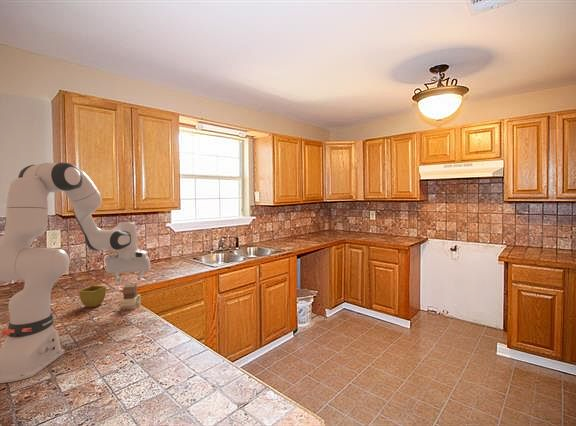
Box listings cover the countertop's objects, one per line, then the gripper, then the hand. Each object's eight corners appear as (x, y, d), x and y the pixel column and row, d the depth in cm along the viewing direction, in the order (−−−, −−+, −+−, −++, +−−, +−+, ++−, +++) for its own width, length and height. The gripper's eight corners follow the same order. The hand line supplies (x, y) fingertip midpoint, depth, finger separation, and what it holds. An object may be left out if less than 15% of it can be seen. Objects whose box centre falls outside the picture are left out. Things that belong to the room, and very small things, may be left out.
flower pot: (93, 309, 152) (92, 291, 152) (79, 308, 154) (77, 290, 153) (107, 302, 161) (106, 286, 160) (93, 301, 162) (92, 285, 162)
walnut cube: (134, 298, 153) (133, 286, 153) (123, 299, 152) (123, 287, 152) (137, 294, 158) (136, 283, 158) (126, 295, 157) (126, 284, 156)
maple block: (134, 309, 152) (134, 299, 152) (120, 309, 152) (119, 299, 151) (141, 303, 159) (140, 294, 159) (127, 304, 159) (126, 294, 158)
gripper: (102, 255, 148) (104, 283, 149) (147, 253, 152) (149, 280, 153) (107, 253, 154) (109, 280, 155) (151, 251, 158) (152, 277, 159)
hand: (129, 280), depth 154 cm, fingers open, 8 cm apart
